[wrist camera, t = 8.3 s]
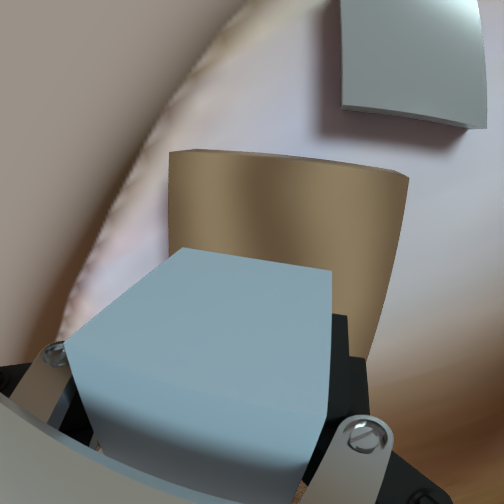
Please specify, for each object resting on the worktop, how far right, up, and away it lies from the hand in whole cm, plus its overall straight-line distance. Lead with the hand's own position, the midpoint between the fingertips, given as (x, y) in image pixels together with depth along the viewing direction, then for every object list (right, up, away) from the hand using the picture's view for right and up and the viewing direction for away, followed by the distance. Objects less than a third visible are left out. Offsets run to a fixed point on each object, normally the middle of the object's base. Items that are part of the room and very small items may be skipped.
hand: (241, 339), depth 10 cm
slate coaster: (+9, +14, +4) cm, 18 cm away
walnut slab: (+2, +3, +10) cm, 11 cm away
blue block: (0, 0, +1) cm, 1 cm away
